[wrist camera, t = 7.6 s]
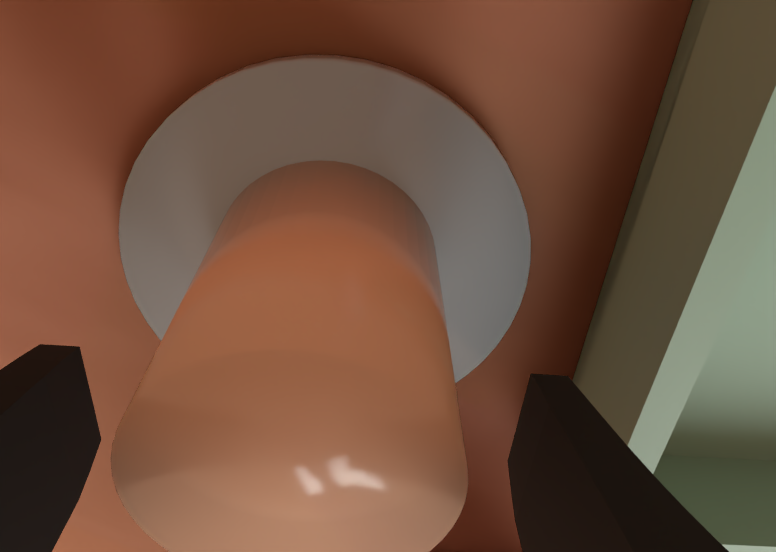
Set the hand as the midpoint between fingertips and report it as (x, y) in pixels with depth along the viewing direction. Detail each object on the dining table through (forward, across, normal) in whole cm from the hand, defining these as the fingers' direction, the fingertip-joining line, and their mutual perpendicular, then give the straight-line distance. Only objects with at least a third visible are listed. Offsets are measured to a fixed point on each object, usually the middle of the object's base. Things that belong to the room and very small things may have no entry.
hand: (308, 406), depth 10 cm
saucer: (+5, 0, 0) cm, 5 cm away
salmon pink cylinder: (+4, 0, 0) cm, 4 cm away
